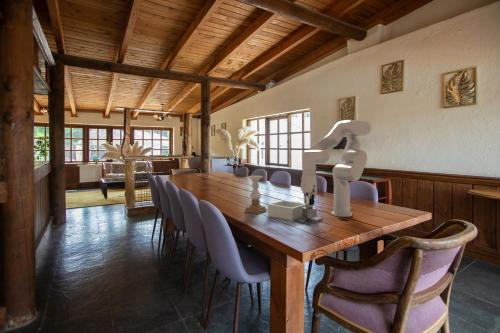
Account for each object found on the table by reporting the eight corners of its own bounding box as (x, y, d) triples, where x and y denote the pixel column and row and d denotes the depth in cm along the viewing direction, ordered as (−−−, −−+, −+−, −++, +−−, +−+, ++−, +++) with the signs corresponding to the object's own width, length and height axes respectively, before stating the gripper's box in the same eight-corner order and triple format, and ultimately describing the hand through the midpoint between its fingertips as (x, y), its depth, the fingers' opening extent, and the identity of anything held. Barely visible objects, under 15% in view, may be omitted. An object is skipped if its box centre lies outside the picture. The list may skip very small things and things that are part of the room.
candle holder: (253, 209, 191) (253, 175, 189) (266, 211, 185) (266, 175, 183) (244, 212, 182) (243, 176, 180) (257, 214, 176) (257, 177, 174)
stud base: (307, 217, 167) (307, 207, 167) (322, 220, 160) (322, 209, 160) (294, 222, 157) (294, 211, 157) (309, 225, 150) (309, 214, 150)
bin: (283, 212, 181) (283, 200, 180) (307, 216, 168) (307, 204, 168) (268, 216, 169) (267, 204, 169) (292, 222, 157) (292, 208, 156)
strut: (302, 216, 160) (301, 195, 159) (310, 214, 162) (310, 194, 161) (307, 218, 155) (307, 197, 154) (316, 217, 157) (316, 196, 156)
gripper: (295, 171, 163) (296, 202, 164) (312, 174, 147) (312, 207, 149) (306, 171, 166) (306, 201, 167) (323, 173, 150) (323, 206, 152)
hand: (309, 203), depth 158 cm, fingers closed on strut, 4 cm apart
